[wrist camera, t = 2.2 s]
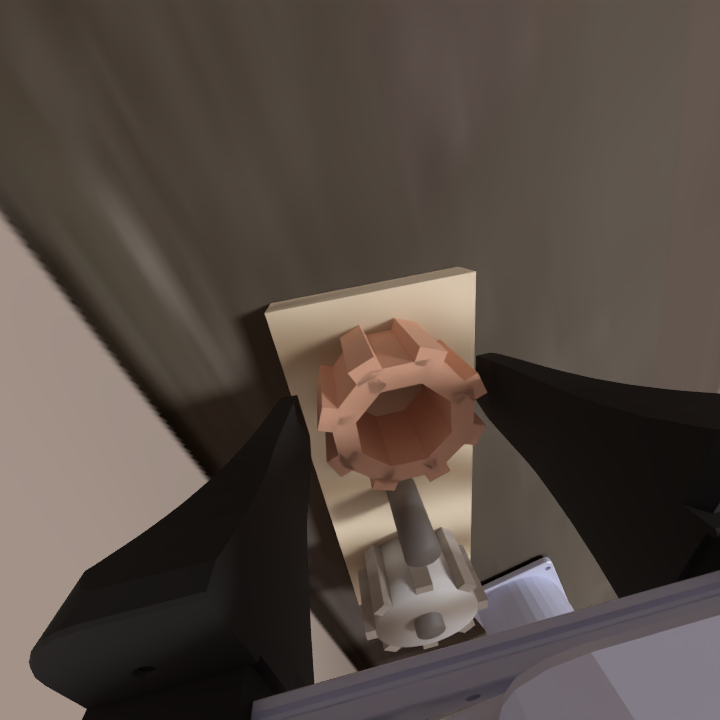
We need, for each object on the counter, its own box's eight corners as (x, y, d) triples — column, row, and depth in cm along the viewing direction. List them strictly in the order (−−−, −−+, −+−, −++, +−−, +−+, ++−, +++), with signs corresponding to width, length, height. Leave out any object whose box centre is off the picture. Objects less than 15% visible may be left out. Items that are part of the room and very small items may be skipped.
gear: (447, 306, 11) (490, 332, 8) (450, 421, 14) (483, 469, 11) (303, 336, 11) (300, 372, 8) (334, 448, 13) (338, 504, 10)
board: (460, 553, 21) (499, 641, 17) (356, 580, 21) (367, 677, 16) (457, 266, 12) (543, 289, 7) (270, 303, 11) (241, 351, 7)
